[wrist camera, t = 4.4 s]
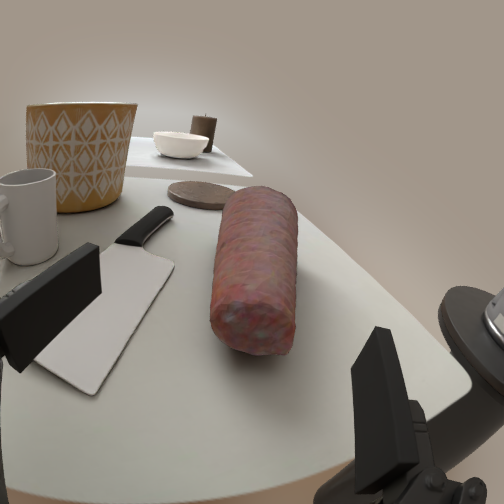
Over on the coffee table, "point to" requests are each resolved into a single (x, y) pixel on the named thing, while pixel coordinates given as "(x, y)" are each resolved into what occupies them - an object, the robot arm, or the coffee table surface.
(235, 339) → the food
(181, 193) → the cake board
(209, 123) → the pillar candle
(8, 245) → the cup
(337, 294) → the coffee table surface
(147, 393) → the coffee table surface
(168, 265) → the kitchen cleaver
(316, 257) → the coffee table surface
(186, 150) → the bowl
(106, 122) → the planter
